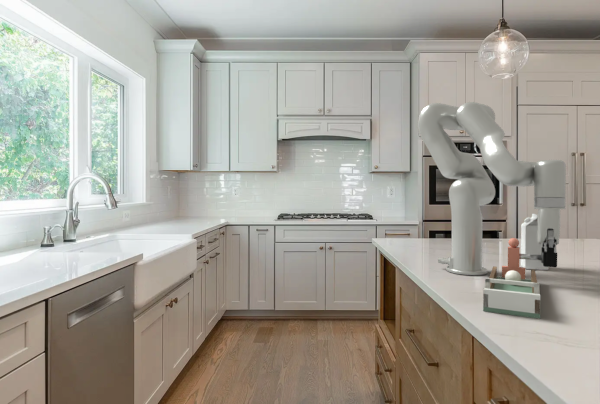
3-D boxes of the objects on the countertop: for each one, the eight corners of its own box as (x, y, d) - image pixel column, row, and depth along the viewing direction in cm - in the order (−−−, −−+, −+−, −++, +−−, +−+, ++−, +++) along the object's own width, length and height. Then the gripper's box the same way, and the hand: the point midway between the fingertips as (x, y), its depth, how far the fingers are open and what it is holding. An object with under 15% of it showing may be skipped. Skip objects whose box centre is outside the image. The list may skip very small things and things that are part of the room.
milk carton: (543, 266, 138) (543, 213, 138) (548, 270, 131) (549, 214, 131) (520, 265, 140) (521, 213, 140) (525, 269, 134) (525, 214, 133)
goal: (483, 306, 88) (483, 283, 88) (485, 300, 93) (485, 277, 93) (540, 314, 82) (540, 288, 82) (539, 306, 88) (539, 283, 87)
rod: (501, 277, 115) (502, 237, 114) (502, 275, 117) (502, 236, 117) (556, 282, 108) (556, 240, 108) (555, 280, 111) (555, 239, 110)
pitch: (483, 311, 88) (483, 293, 88) (493, 279, 119) (493, 266, 119) (540, 318, 82) (540, 300, 82) (534, 283, 114) (535, 269, 114)
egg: (504, 285, 107) (504, 271, 107) (505, 282, 111) (505, 268, 111) (521, 287, 105) (521, 272, 105) (521, 283, 109) (521, 269, 109)
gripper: (533, 202, 119) (532, 258, 119) (534, 204, 104) (534, 268, 104) (562, 203, 115) (562, 260, 116) (568, 205, 100) (568, 270, 101)
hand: (548, 263), depth 110 cm, fingers open, 9 cm apart
